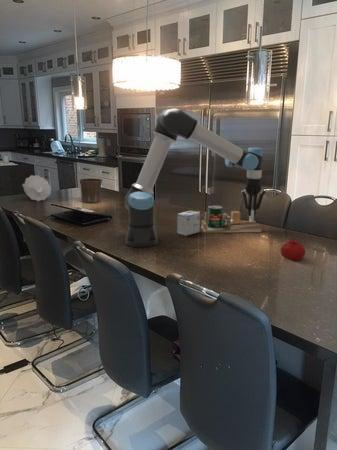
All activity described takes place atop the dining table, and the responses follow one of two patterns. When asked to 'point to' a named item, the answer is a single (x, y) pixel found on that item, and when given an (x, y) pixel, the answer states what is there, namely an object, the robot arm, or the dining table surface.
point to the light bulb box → (188, 222)
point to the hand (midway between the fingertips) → (251, 221)
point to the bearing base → (233, 226)
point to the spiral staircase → (37, 188)
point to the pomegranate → (293, 250)
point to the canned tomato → (215, 217)
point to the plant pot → (90, 190)
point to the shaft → (232, 219)
